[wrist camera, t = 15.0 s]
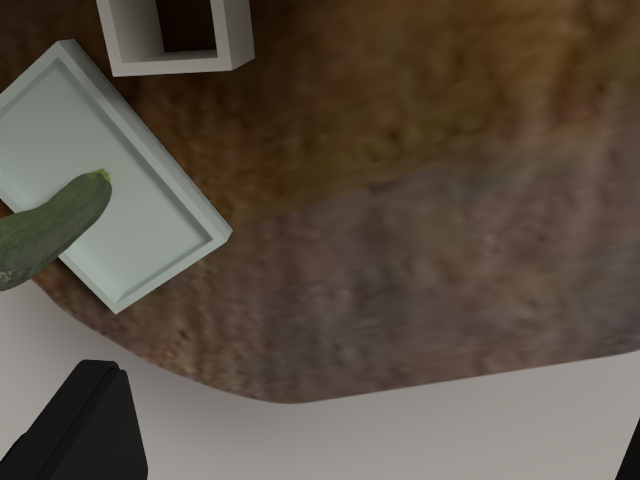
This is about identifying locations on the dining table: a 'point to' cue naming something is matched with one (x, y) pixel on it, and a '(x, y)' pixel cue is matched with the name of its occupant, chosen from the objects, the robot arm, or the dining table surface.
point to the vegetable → (50, 227)
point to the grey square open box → (147, 44)
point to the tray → (116, 158)
